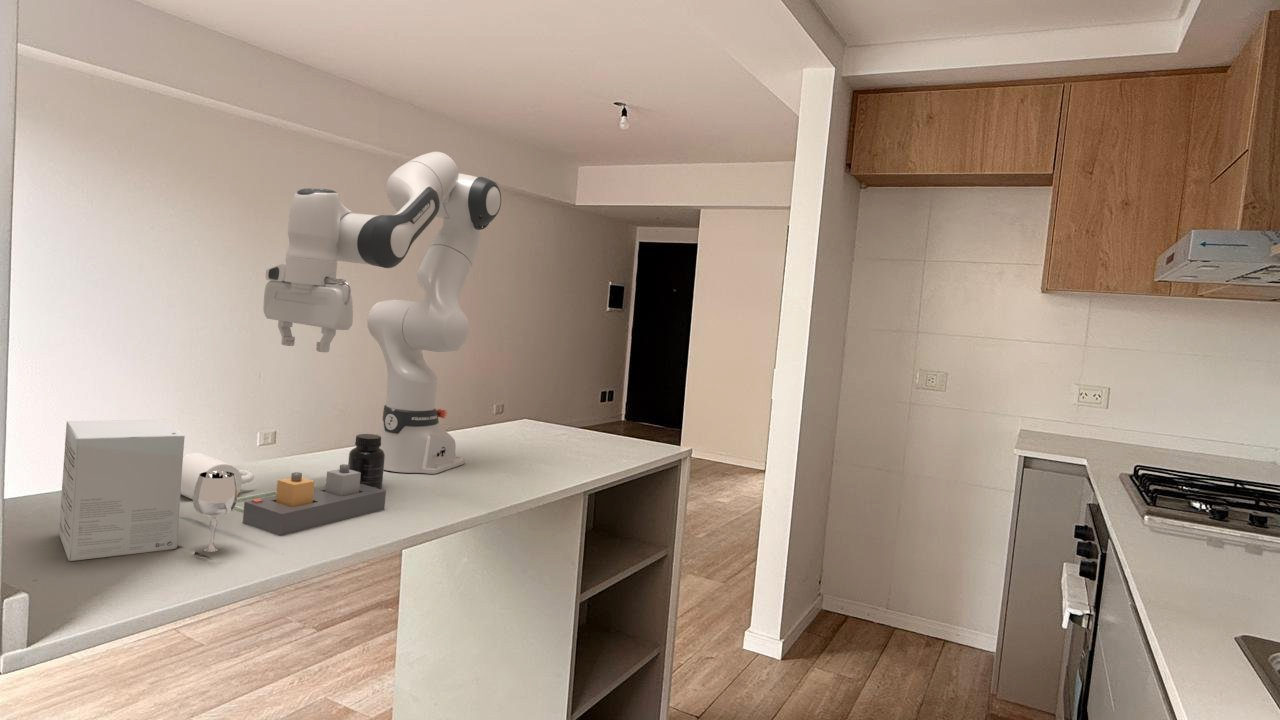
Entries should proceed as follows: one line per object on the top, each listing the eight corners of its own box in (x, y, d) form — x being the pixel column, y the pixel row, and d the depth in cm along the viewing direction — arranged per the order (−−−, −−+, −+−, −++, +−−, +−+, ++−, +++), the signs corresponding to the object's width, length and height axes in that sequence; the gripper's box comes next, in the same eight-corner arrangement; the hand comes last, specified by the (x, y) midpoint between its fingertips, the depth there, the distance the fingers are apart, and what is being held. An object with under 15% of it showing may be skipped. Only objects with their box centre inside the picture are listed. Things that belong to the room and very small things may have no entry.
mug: (195, 511, 131) (198, 466, 131) (167, 498, 137) (170, 454, 136) (262, 501, 141) (265, 459, 141) (233, 488, 147) (236, 448, 146)
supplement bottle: (339, 492, 153) (344, 433, 152) (371, 488, 158) (376, 431, 157) (355, 500, 148) (360, 440, 147) (387, 497, 153) (393, 438, 152)
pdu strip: (348, 506, 144) (350, 479, 143) (383, 517, 140) (386, 489, 139) (242, 531, 124) (244, 500, 124) (279, 544, 120) (282, 512, 120)
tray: (274, 501, 142) (275, 490, 142) (308, 512, 138) (309, 501, 138) (217, 512, 132) (218, 501, 132) (253, 524, 128) (254, 513, 128)
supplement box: (159, 524, 123) (167, 418, 122) (178, 549, 113) (186, 434, 112) (57, 534, 114) (64, 419, 113) (67, 562, 104) (75, 437, 103)
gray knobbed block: (341, 505, 139) (345, 461, 138) (357, 510, 137) (361, 466, 136) (323, 509, 135) (327, 464, 135) (339, 514, 133) (343, 469, 133)
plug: (294, 516, 130) (298, 469, 129) (311, 521, 128) (315, 474, 127) (274, 521, 126) (278, 472, 126) (290, 526, 124) (294, 477, 124)
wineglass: (204, 544, 116) (209, 468, 116) (240, 549, 116) (246, 472, 115) (180, 557, 111) (185, 476, 110) (218, 562, 110) (224, 481, 110)
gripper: (364, 281, 140) (358, 355, 141) (288, 272, 149) (283, 342, 150) (336, 278, 134) (330, 356, 135) (259, 269, 143) (254, 342, 144)
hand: (304, 348), depth 143 cm, fingers open, 8 cm apart
